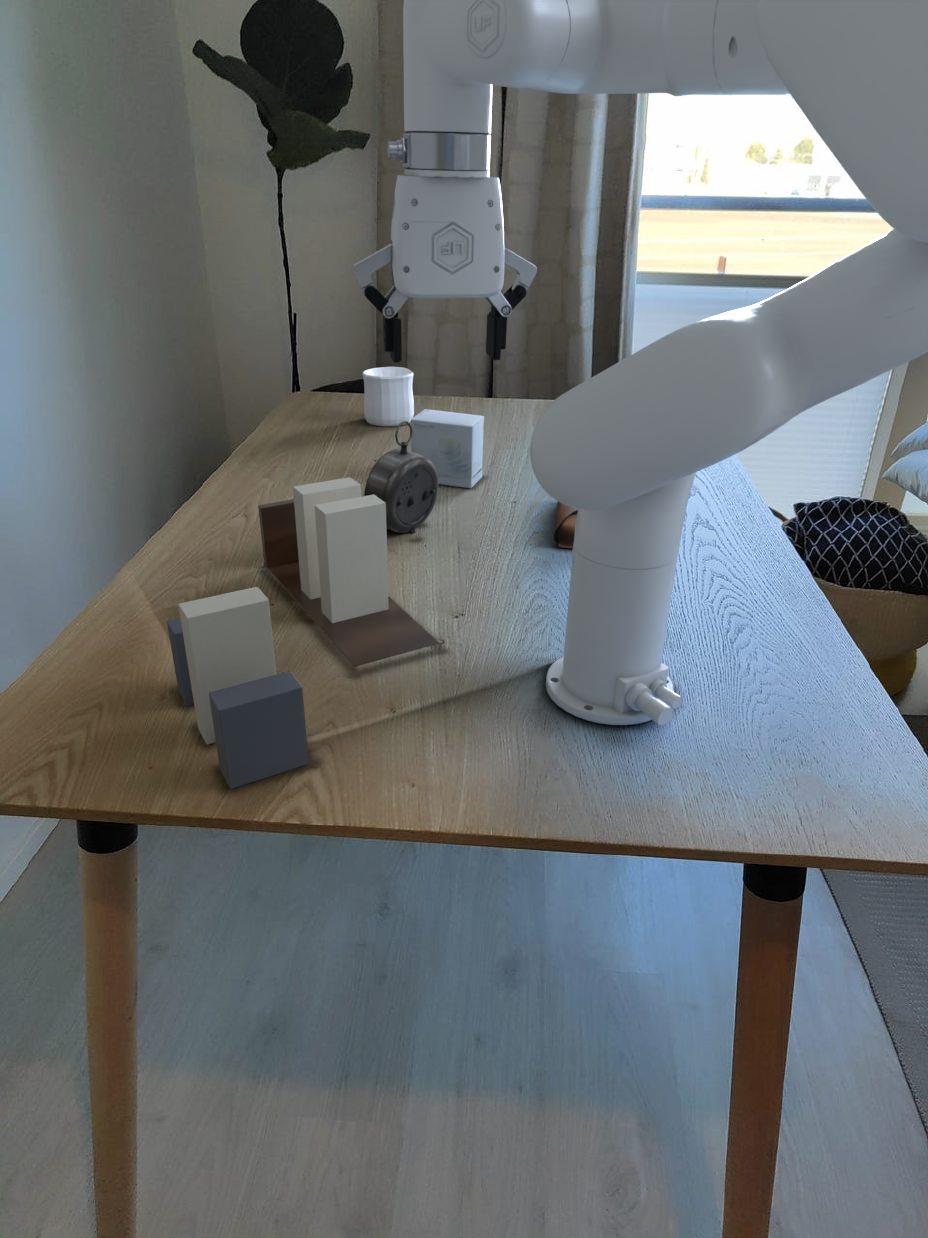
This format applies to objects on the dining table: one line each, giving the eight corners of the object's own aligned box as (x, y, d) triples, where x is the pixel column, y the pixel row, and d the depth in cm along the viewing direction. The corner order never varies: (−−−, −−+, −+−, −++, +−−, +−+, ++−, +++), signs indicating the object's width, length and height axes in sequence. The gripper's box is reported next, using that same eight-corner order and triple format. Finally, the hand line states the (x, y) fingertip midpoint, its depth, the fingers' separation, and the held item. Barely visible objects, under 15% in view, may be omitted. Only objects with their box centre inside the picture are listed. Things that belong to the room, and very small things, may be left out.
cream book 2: (365, 587, 103) (360, 484, 97) (310, 600, 100) (302, 494, 94) (354, 577, 105) (350, 476, 99) (301, 589, 102) (292, 486, 96)
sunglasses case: (615, 548, 116) (594, 507, 113) (569, 569, 118) (546, 529, 116) (613, 502, 131) (594, 465, 129) (572, 521, 134) (553, 485, 132)
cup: (423, 419, 173) (422, 370, 168) (393, 430, 165) (392, 379, 161) (385, 411, 177) (383, 363, 173) (354, 422, 170) (352, 372, 165)
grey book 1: (257, 687, 85) (249, 616, 81) (186, 706, 82) (174, 634, 78) (247, 673, 87) (239, 604, 84) (178, 691, 84) (166, 620, 80)
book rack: (440, 650, 92) (440, 575, 88) (355, 674, 88) (351, 596, 83) (337, 556, 113) (334, 491, 109) (264, 571, 109) (257, 505, 104)
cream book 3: (388, 609, 98) (385, 502, 92) (332, 623, 95) (325, 514, 89) (377, 599, 100) (374, 494, 94) (321, 612, 97) (314, 504, 91)
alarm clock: (416, 520, 125) (416, 409, 117) (444, 529, 122) (445, 417, 114) (363, 542, 117) (358, 425, 110) (391, 553, 114) (389, 434, 107)
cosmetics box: (410, 481, 140) (409, 417, 135) (424, 469, 145) (424, 407, 140) (471, 489, 137) (472, 424, 132) (483, 477, 142) (485, 414, 137)
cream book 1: (281, 723, 80) (269, 599, 74) (206, 745, 77) (187, 618, 71) (270, 707, 82) (257, 586, 76) (197, 728, 79) (177, 603, 73)
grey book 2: (309, 764, 75) (302, 687, 71) (230, 789, 71) (218, 710, 68) (296, 746, 77) (289, 670, 73) (219, 770, 74) (208, 692, 70)
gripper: (352, 155, 70) (359, 369, 78) (554, 160, 73) (541, 364, 81) (343, 155, 76) (351, 352, 84) (530, 159, 80) (520, 348, 88)
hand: (444, 358), depth 83 cm, fingers open, 9 cm apart
